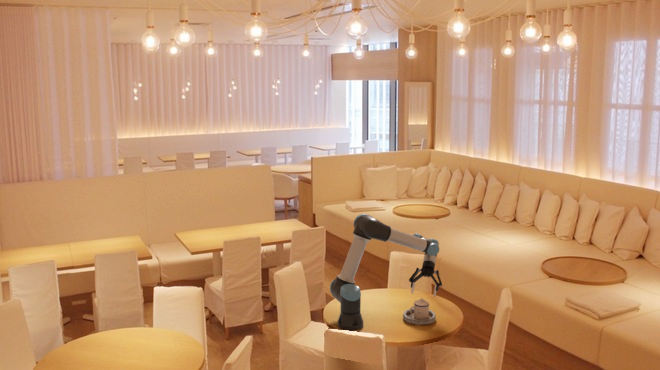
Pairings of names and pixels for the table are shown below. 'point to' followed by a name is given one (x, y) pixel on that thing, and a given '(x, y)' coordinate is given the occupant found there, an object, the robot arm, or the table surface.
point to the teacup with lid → (420, 309)
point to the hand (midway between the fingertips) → (423, 294)
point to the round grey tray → (412, 320)
